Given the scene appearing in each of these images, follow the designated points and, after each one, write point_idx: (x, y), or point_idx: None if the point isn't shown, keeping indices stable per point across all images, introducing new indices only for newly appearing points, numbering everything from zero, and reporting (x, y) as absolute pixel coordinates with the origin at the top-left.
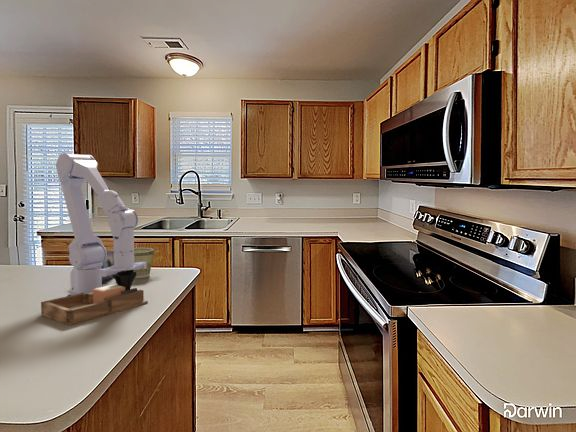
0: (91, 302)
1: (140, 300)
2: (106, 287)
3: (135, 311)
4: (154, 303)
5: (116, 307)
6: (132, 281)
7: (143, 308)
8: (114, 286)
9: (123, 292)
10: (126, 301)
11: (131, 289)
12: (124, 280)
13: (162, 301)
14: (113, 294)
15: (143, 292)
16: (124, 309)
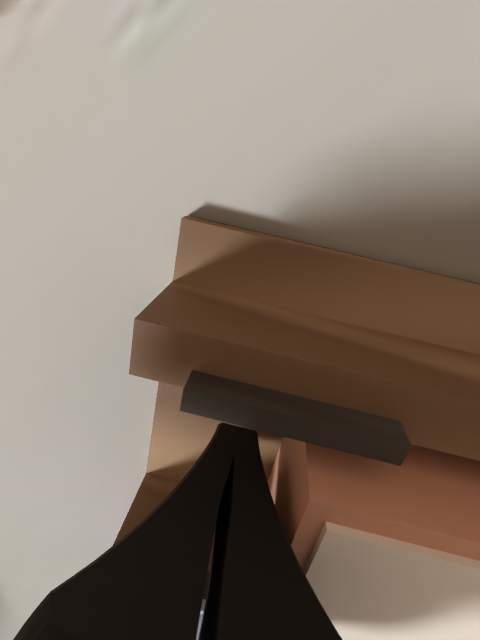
0: None
1: (207, 291)
2: (440, 638)
3: (477, 135)
4: (157, 148)
5: (473, 353)
6: (150, 524)
7: (351, 130)
8: (368, 595)
9: (393, 431)
10: (372, 340)
11: (269, 412)
12: (307, 607)
13: (62, 116)
14: (461, 490)
15: (145, 308)
16: (453, 278)
